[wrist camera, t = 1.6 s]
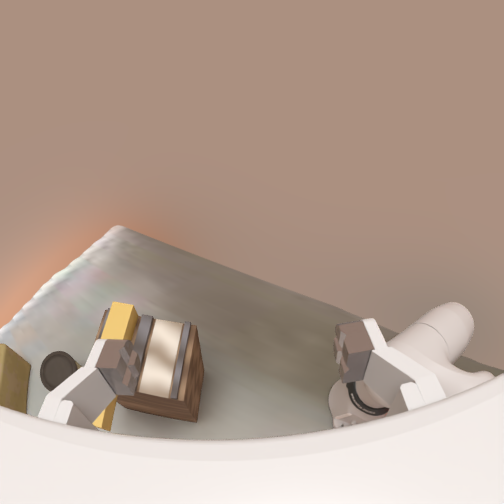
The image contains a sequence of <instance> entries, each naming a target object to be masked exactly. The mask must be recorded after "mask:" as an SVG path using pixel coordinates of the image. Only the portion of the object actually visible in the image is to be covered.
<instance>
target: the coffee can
mask: <svg viewBox="0 0 504 504" xmlns="http://www.w3.org/2000/svg"><path fill="white" fill-rule="evenodd" d="M81 367H82V366H81V365H79V364H78V363H77V362H76V361H75V360H74V359H73V358H72V357H71V356H70V355H69V354H67V353H66V352H62V351H56V352H53V353H51V354H49V355H48V356H47V357H46V358H45V359H44V361H43V362H42V365H41V369H40V377H41V381H42V383H43V385H44V386H45V387H46V389H48V390H49V391H53V390H54V389H55V388H56V387H57V386H59V385H60V384H61V383H62V382H64V381H65V380H66V379H67V378H68V377H70V376H71V375H72V374H73V373H75V372H76V371H77V370H78V369H80V368H81Z"/></svg>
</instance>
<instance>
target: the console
mask: <svg viewBox="0 0 504 504" xmlns="http://www.w3.org/2000/svg"><path fill="white" fill-rule="evenodd" d="M110 309H111V308H108V310H105V312H104V315H103V318H102V321H101V324H100V327H99V330H98V333H97V336H96V339H95V341H96V340H98V339H101V336H102V333H103V330H104V327H105V324H106V321H107V318H108V315H109V312H110ZM131 342H132V344H133V346H134V347H133V350H134V351H135V352H136V353H138V355H139V358H140V362H141V370H140V374H139V375H138V376H137V377H136V378H135V380H136V382H137V385H136V389H135V393H134V396H132V395H118V396H117V401H116V402H118V403H119V404H121V405H122V406H124V407H125V408H128V409H132V410H136V411H140V412H144V413H149V414H153V415H158V416H163V417H168V418H173V419H178V420H184V421H190V422H196V423H197V416H198V409H199V402H200V395H201V388H202V382H203V375H204V367H203V361H202V355H201V349H200V343H199V337H198V331H197V326H196V325H191V322H186V321H185V324H183V323H178V322H171V321H165V320H159V319H154V318H153V316H148V315H143V314H142V317H140V316H138V320H137V323H136V326H135V330H134V333H133V337H132V341H131ZM94 343H95V342H94Z"/></svg>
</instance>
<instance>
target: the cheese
mask: <svg viewBox="0 0 504 504" xmlns="http://www.w3.org/2000/svg"><path fill="white" fill-rule="evenodd" d="M30 367H31V366H30V364H29V363H28V362H26V361H25V360H24V359H23V358H22V357H20V356H19V355H18V354H17V353H16V352H14V351H13V350H12V349H11V348H9V347H8V346H7V345H6V344H0V406H3V407H6V408H9V409H12V410H15V411H18V412H21V413H24V414H26V402H27V388H28V380H29V373H30Z"/></svg>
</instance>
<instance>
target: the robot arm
mask: <svg viewBox="0 0 504 504" xmlns="http://www.w3.org/2000/svg"><path fill="white" fill-rule="evenodd" d="M473 332H474V322H473V319H472V316H471V314H470V313H469V311H468V310H467V309H466V308H465V307H464V306H463V305H461V304H459V303H456V302H448V303H446V304H443V305H440V306H438V307H436V308H434V309H432V310H430V311H428V312H427V313H426V314H425V315H423V316H422V317H421V318H419V319H418V320H417V321H415V322H414V323H413V324H411V325H410V326H409V327H408V328H407V329H405V330H404V331H403V332H401V333H400V334H398V335H397V336H396V337H394V338H393V339H391V340H390V341H388V342H387V343H386V342H385V339H384V337H383V335H382V333H381V331H380V329H379V327H378V325H377V323H376V321H375V319H373V318H370V319H364V320H359V321H353V322H347V323H340V324H337V325H336V327H335V333H336V336H337V337H336V338H335V339H334V344H333V347H334V356H335V360H336V362H337V363H339V364H340V365H339V374H340V377H341V379H340V380H338V381H337V382H336V383H335V384H334V385H333V387H332V389H331V391H330V394H329V408H330V410H331V413H332V416H333V427H334V429H329V430H323V431H317V432H310V433H303V434H295V435H286V436H277V437H266V438H251V439H228V440H190V439H167V438H153V437H142V436H132V435H124V434H116V433H109V432H103V431H99V430H98V429H97V428H96V427H95V426H94V425H93V424H92V423H93V422H94V421H95V420H96V419H97V417H98V416H99V415H100V414H101V413H102V412H103V411H104V409H105V408H106V407H107V406H108V405H109V404H110V403H111V401H112V400H113V399H114V398H115V397H116V395H132V396H134V393H135V389H136V385H137V382H136V380H135V378H136V377H137V376H138V375H139V374H140V370H141V362H140V358H139V355H138V353H136V352H135V351H134V350H133V347H134V346H133V344H132V342H131V340H121V339H98V340H96V341H95V343H94V346H93V348H92V350H91V352H90V355H89V357H88V359H87V362H86V364H85V366H84V367H81V368H80V369H78V370H77V371H76V372H75V373H73V374H72V375H71V376H70V377H68V378H67V379H66V380H65V381H64V382H62V383H61V384H60V385H59V386H57V387H56V388H55V389H54V390H53V391H51V392H50V393H49V394H48V395H47V396H46V398H45V400H44V403H43V405H42V407H41V410H40V412H39V415H38V417H35V416H31V415H28V414H24V413H21V412H18V411H15V410H12V409H9V408H6V407H3V406H0V504H504V373H503V374H501V375H499V376H497V377H494V376H493V375H492V374H491V373H490V372H487V371H479V372H476V373H469V372H465V371H463V370H460V369H458V368H457V367H455V366H454V365H452V364H453V363H454V362H455V361H456V360H457V359H458V358H459V357H460V356H461V355H462V354H463V352H464V351H465V349H466V347H467V346H468V344H469V342H470V340H471V338H472V335H473ZM341 425H343V427H341Z"/></svg>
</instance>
